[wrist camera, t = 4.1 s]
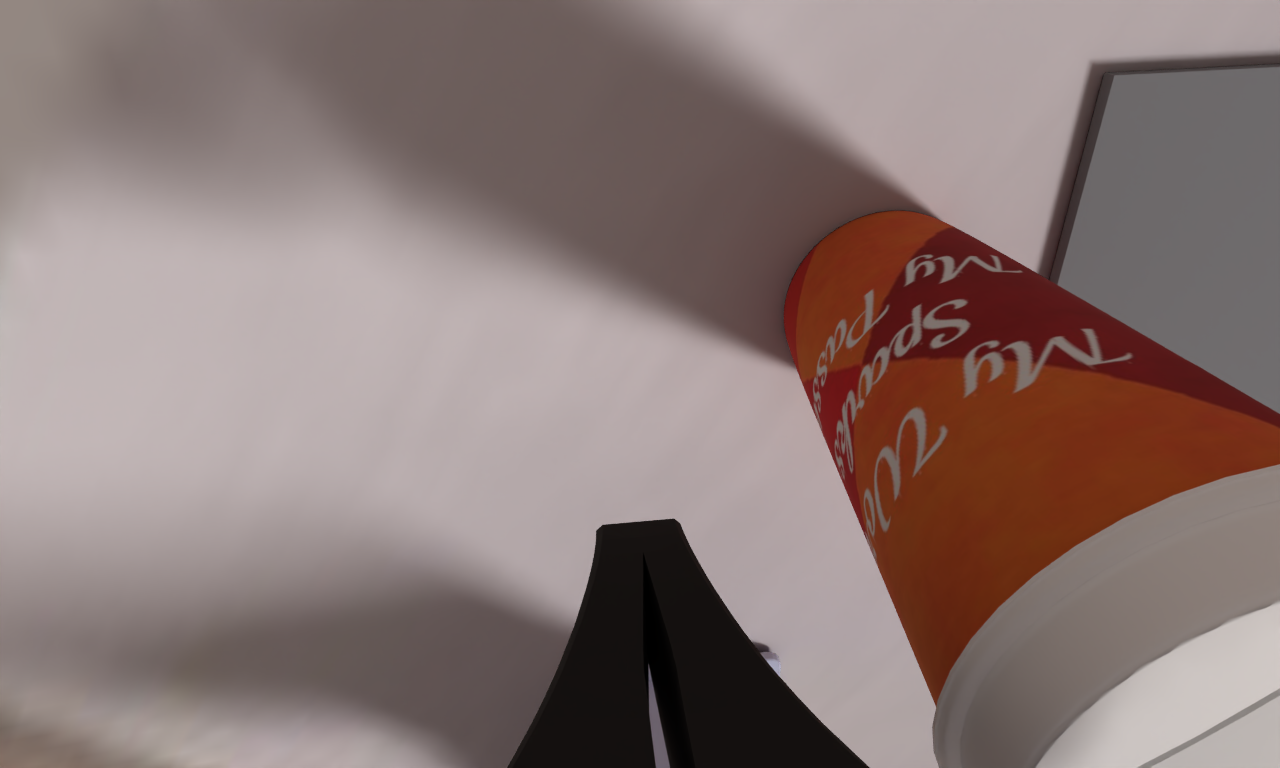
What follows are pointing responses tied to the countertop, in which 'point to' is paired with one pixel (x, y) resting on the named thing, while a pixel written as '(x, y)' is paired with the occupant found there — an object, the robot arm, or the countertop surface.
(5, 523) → the countertop surface
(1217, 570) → the paper cup
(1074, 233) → the mat
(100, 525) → the countertop surface
